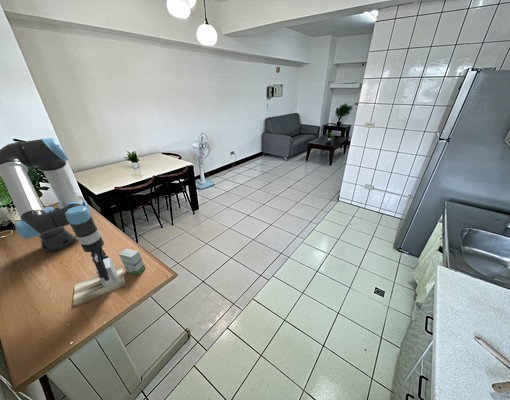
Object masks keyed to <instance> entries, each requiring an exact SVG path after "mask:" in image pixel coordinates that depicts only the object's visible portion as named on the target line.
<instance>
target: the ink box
mask: <svg viewBox="0 0 510 400" xmlns="http://www.w3.org/2000/svg"><path fill="white" fill-rule="evenodd" d="M118 256H119V259H120V260H121V263H122V265H123V268H124V269H125V272H126V273H127V272H128V273H130V274H134V275H138V276H139V275H141V274H142V273H143V272H144V271H145V270H146V266H145V262H144V261H143V258H142V256H141V253H140V251H139V250H135V249H130V248H125V249H123V250H122V251H121V252H119V254H118Z"/></svg>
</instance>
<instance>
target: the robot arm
mask: <svg viewBox="0 0 510 400" xmlns="http://www.w3.org/2000/svg"><path fill="white" fill-rule="evenodd" d="M68 160H69V158H68V156H67V155H66V154H65V152H64V150H63V149H62V146H61V145H60V143H59V142H58V141H57V139H56V138H53V137H51V138H41V139H34V140H26V141H20V142H18V141H17V142H11V143H8V144H7V145H5V146H2V148H0V177H1V178H2V180H3V182H4V184H5V187H6V189H7V192H8V193H9V196H10V198H11V200H12V202H13V205H14V207H15V209H16V212H17V214H18V216H19V218H20V220H19V221H17V222H15V223H14V228H15V230H16V231H17V233H18V235H19V236H20V237H21V238H22V239H25V240H28V239H31V238H35V237H39V239H40V248H41V250H42V251H43V252H45V253H54V252H58V251H61V250H64V249H65V248H68V246H71V244H73V243H74V241H75V240H78V242H79V243H80V246H81V247H82V248H81V249H82V250H83V252H85V253H90V256H91V258H92V260H91V261H92V262H93V263H94V266H95V268H97V270H98V273H99V275H100V276H99V277H101V278H103V280H104V282H105V284H106V286H107V285H109V284H112V283H113V281H112V279H111V277H110V275H109V273H108V272H107V270H106V267H105V264H104V261H103V259H106V258H109V255H107V253H106V252H105V250H104V249H103V246H104V245H105V243H104V240H103V237H102V236H101V235H102V234H101V233H100V231H99V229H98V228H97V225H96V223H95V221H94V218H93V216H92V213H91V211H90V210H91V209H90V207H89V204H88V203H87V201H86V200H85V199H82V198H81V197H78V195H77V192H76V190H75V188H74V186H73V183H72V182H71V179H70V177H69V175H68V173H67V171H66V170H67V169H66V168H65V167H66V165H67V162H68ZM34 167H36V169H37V170H38V171H40V172H43V175H44V176H45V177H46V180H47V181H48V184H49V186H50V187H51V189H52V190H53V191H52V192H53V194H55V196H56V198H57V201H58V202H59V203H58V204H57V205H58V206H57V207H55V208H54V207H53V206H48V207H47V206H46V207H44V205H43V203H42V201H41V200H40V197H39V196H38V193H37V191H36V189H35V187H34V185H33V183H32V181H31V179H30V177H29V174H28V171H29V168H34ZM66 226H70V228H71V229H72V232H73V233H74V235H75V236H74V235H73V234H72V233H70V231H68V230H67V229H66V228H65V227H66Z"/></svg>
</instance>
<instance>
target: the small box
mask: <svg viewBox="0 0 510 400" xmlns="http://www.w3.org/2000/svg"><path fill="white" fill-rule="evenodd" d="M103 261H104V264H105V267H106V270H107V272H108V273H109V275H110V277H111V279H112V281H113V283H112V284H109V285H107V286H106V284H105V282H104V280H103V278H101V277H99V276H100V275H99V273H98V270H97V268H96V267H95V268H96V269H95V273H96V274H97V275H96V276H98V277H99V278H100V280H101V282H102V284H103V286H104V288H106V287H108V286H111V285H114V284H116V283H118V280H117V271H116V269H117V268H116V267H115V265H114V263H113V261H112V258H111V256H110V257H109V256H108V258H106V259H103Z"/></svg>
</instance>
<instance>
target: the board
mask: <svg viewBox="0 0 510 400" xmlns="http://www.w3.org/2000/svg"><path fill="white" fill-rule="evenodd" d="M115 269H116V271H117V280H118V283H116V284H114V285H111V286H108V287H106V288H104V286H103V284H102V282H101V280H100V278H99V277H98V275H96V276H93V277H91V278H89V279H85V280H83V281H81V282H78V283H76V284H74V291H73V301H72V306H73V308H75V307H77V306H79V305H81V304H83V303H86V302H89V301H91V300H93V299H95V298H98V297H100V296H103V295H105V294H108V293H109V292H112V291H114V290H117V289H119V288H122V287H123V286H126V277H125V271H124V266H119V267H116V268H115Z"/></svg>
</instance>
